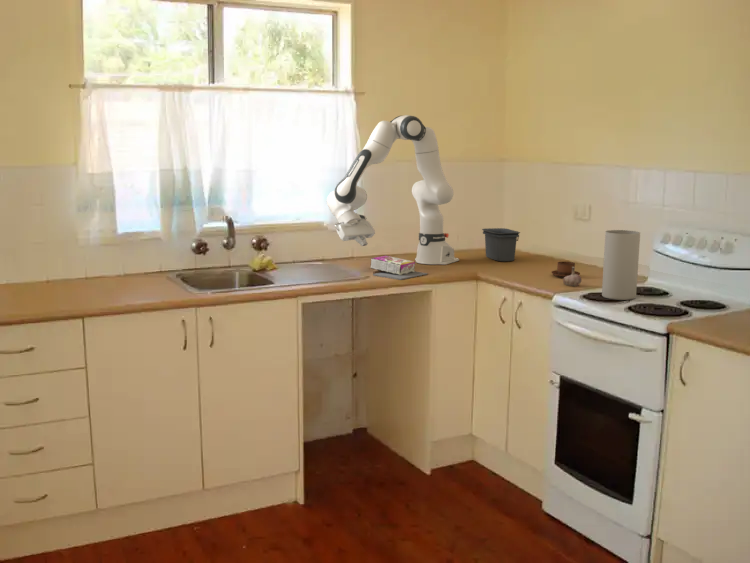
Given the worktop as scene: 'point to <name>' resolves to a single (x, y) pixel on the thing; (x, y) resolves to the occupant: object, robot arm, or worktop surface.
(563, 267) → the cup and saucer
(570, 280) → the garlic bulb
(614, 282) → the cylinder vase
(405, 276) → the rubber mat
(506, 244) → the storage bin
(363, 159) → the robot arm
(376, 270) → the walnut kerb
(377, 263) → the candy bar box
